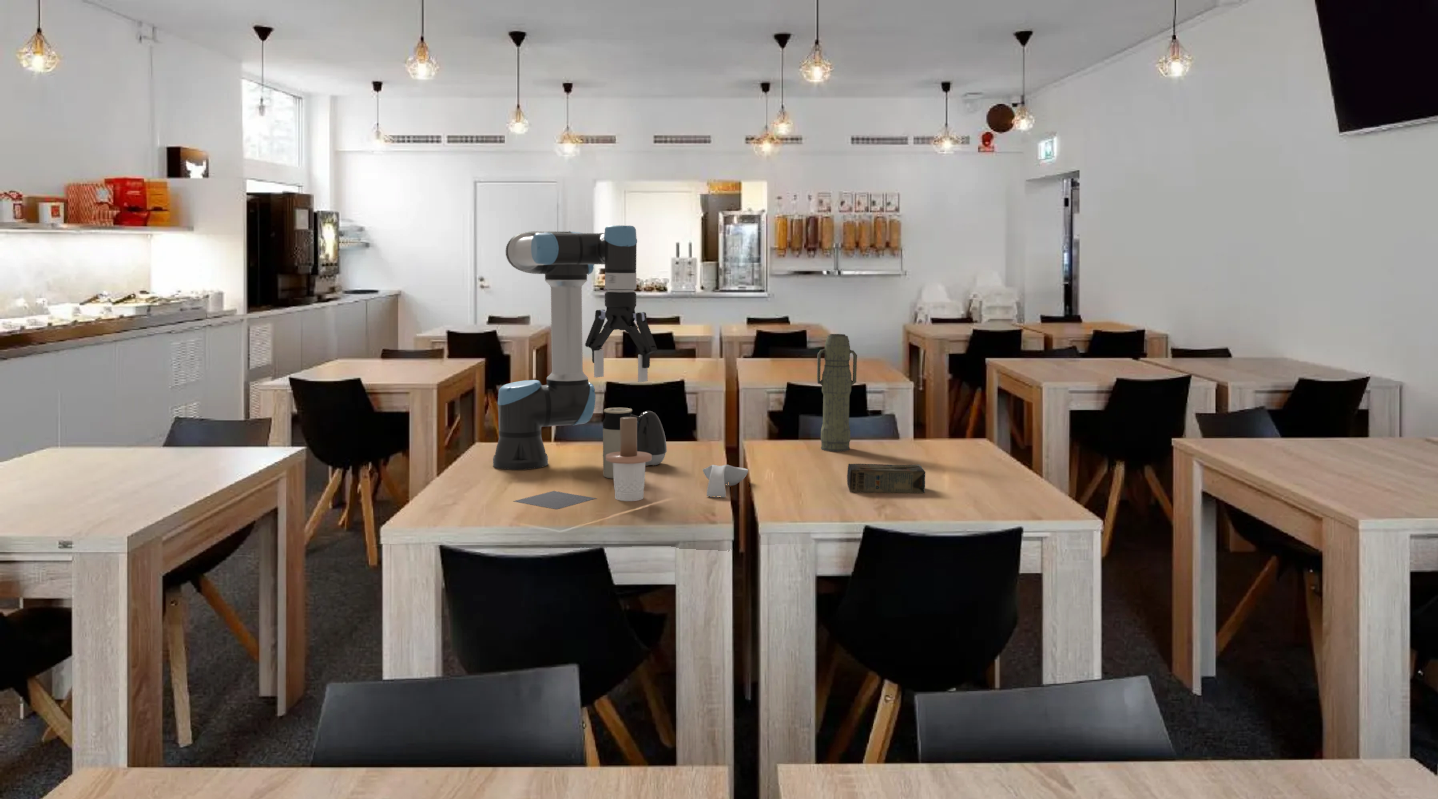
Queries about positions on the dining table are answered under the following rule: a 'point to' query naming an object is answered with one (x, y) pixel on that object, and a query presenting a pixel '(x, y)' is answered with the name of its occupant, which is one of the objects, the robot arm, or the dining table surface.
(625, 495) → the white cup
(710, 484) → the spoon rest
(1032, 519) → the dining table surface
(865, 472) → the beverage carton
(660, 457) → the pump dispenser
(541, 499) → the mat
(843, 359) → the thermos
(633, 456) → the lid
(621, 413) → the travel mug
